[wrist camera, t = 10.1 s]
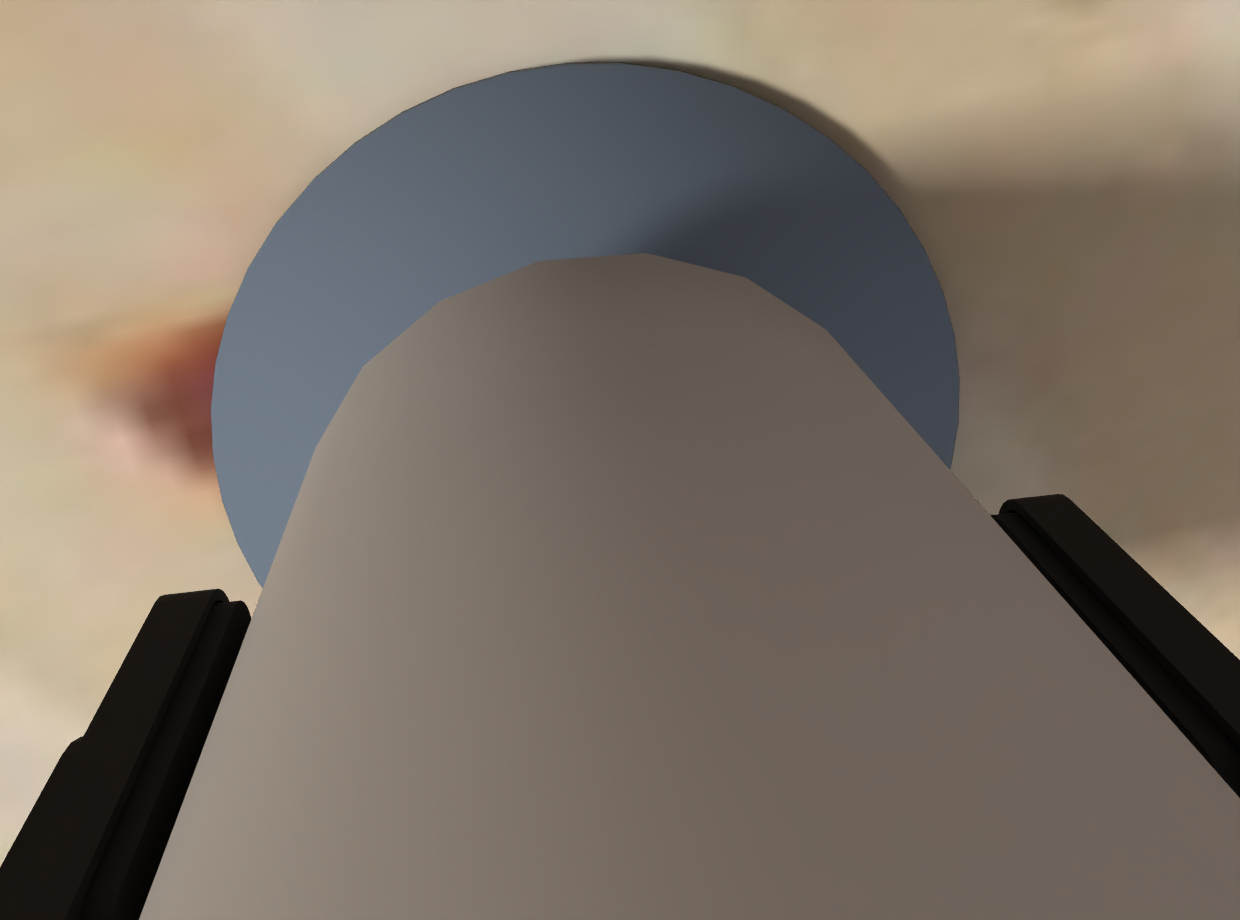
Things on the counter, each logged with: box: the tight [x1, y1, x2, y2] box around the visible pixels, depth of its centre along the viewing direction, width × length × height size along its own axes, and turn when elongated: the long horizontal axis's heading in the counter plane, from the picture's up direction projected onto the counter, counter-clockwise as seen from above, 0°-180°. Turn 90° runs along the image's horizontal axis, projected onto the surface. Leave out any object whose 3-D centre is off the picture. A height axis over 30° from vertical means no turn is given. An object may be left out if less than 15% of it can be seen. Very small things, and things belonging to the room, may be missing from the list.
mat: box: [211, 63, 959, 588], centre depth 15 cm, size 11×11×1 cm
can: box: [139, 253, 1240, 920], centre depth 8 cm, size 8×8×12 cm
